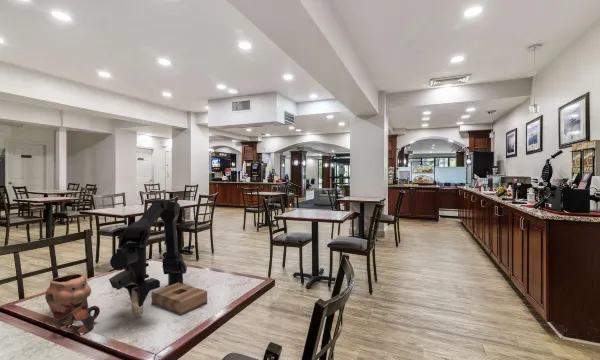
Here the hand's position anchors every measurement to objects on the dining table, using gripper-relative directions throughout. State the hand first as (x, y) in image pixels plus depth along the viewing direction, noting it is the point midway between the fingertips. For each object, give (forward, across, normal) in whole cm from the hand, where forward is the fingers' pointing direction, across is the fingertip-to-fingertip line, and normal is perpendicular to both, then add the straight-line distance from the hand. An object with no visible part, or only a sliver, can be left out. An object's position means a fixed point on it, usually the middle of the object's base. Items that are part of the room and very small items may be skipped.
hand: (137, 305), depth 105 cm
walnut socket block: (+4, +3, +15) cm, 16 cm away
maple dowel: (+3, 0, 0) cm, 3 cm away
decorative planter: (+5, -24, -12) cm, 27 cm away
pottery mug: (+5, -8, -14) cm, 17 cm away
